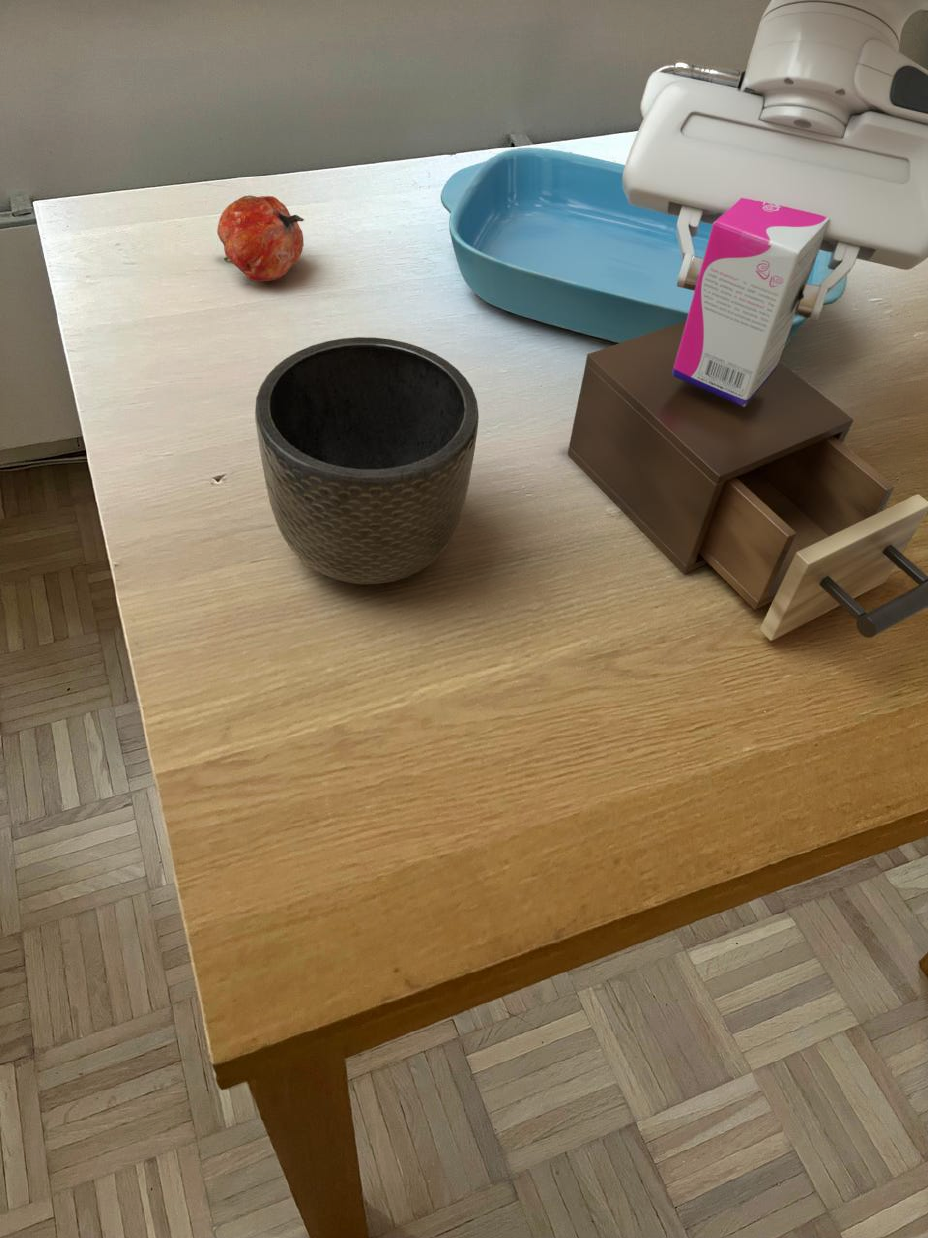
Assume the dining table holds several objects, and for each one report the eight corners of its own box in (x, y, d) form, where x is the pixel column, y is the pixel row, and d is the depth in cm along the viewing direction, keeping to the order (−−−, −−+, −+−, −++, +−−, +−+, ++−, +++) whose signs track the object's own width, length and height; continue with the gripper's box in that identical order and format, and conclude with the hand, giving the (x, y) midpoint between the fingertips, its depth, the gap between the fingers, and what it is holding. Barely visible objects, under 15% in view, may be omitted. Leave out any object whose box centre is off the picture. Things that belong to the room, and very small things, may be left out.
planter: (281, 473, 77) (269, 328, 67) (465, 483, 78) (479, 341, 68) (257, 614, 69) (238, 471, 59) (464, 625, 69) (480, 485, 59)
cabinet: (808, 516, 79) (854, 419, 71) (684, 574, 74) (719, 476, 66) (687, 408, 86) (717, 309, 79) (567, 454, 81) (587, 353, 74)
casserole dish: (831, 280, 101) (858, 212, 95) (809, 415, 87) (839, 344, 81) (476, 196, 106) (482, 127, 100) (402, 311, 92) (404, 238, 86)
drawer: (938, 629, 71) (991, 552, 65) (822, 694, 67) (867, 618, 61) (759, 468, 80) (791, 389, 74) (647, 516, 76) (671, 436, 70)
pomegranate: (218, 308, 94) (288, 275, 87) (176, 231, 91) (245, 191, 85) (269, 279, 99) (339, 247, 92) (231, 205, 96) (300, 166, 89)
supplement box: (778, 367, 72) (835, 216, 64) (744, 409, 69) (799, 256, 60) (704, 336, 74) (750, 184, 65) (668, 375, 71) (711, 221, 62)
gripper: (654, 29, 64) (590, 250, 65) (990, 98, 60) (915, 328, 62) (653, 76, 70) (595, 276, 71) (958, 141, 67) (890, 349, 68)
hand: (747, 301), depth 67 cm, fingers closed on supplement box, 6 cm apart
